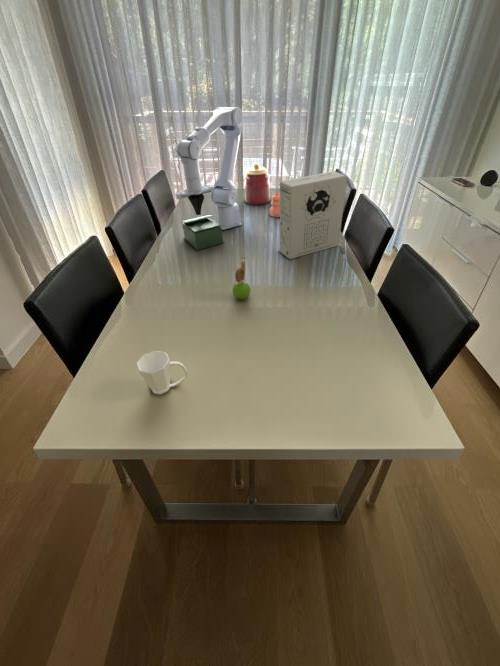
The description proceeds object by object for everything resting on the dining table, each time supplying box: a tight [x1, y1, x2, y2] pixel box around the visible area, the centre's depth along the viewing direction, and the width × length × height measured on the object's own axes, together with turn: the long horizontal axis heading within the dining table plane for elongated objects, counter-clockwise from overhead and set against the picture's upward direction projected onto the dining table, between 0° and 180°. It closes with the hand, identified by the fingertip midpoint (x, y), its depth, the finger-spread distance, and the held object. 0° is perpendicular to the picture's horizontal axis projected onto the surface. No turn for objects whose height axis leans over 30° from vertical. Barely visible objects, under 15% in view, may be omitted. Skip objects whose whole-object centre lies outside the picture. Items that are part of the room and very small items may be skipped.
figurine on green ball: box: [231, 256, 251, 300], centre depth 100 cm, size 5×6×12 cm
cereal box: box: [279, 170, 348, 260], centre depth 120 cm, size 22×8×25 cm, turn 115°
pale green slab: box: [181, 214, 214, 223], centre depth 135 cm, size 6×11×1 cm, turn 119°
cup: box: [135, 350, 188, 395], centre depth 74 cm, size 7×10×8 cm
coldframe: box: [181, 217, 224, 251], centre depth 136 cm, size 13×11×7 cm
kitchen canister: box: [243, 162, 271, 206], centre depth 168 cm, size 13×13×18 cm
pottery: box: [269, 191, 280, 218], centre depth 154 cm, size 18×10×10 cm, turn 94°
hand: (198, 214), depth 133 cm, fingers closed
